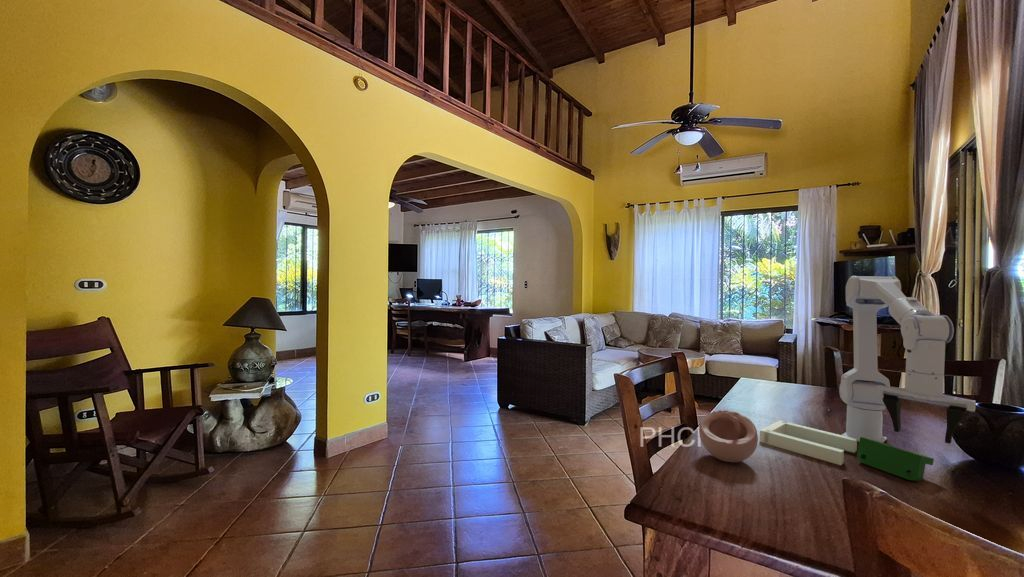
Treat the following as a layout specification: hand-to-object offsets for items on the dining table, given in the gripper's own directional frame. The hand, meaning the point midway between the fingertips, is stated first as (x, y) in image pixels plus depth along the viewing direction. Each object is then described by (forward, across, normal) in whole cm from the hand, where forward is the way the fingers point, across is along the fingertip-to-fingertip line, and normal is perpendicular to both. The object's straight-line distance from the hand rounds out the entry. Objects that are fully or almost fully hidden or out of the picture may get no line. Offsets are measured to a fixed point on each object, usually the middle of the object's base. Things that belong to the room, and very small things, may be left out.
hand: (921, 436), depth 87 cm
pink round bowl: (+10, -29, -24) cm, 39 cm away
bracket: (+10, -20, +2) cm, 23 cm away
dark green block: (+10, -4, +3) cm, 11 cm away
